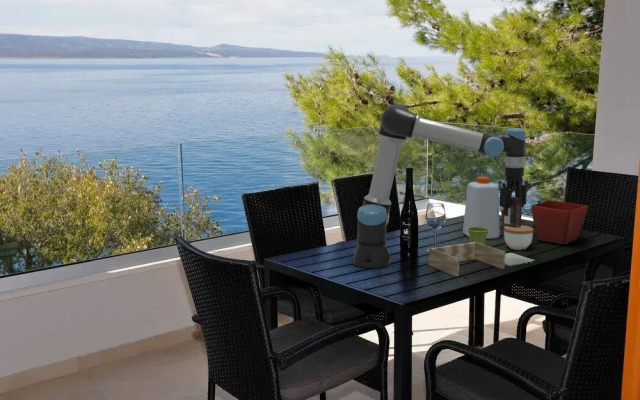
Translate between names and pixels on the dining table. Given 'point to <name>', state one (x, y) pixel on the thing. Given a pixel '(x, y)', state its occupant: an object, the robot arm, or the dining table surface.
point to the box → (515, 212)
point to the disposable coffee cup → (502, 217)
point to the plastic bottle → (482, 207)
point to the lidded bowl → (518, 237)
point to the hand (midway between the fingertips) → (512, 222)
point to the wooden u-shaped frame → (464, 256)
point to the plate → (515, 259)
